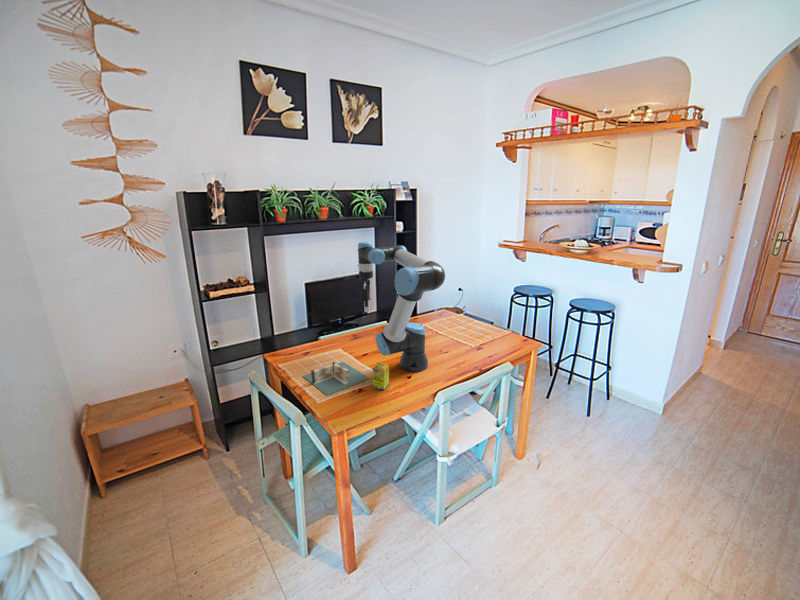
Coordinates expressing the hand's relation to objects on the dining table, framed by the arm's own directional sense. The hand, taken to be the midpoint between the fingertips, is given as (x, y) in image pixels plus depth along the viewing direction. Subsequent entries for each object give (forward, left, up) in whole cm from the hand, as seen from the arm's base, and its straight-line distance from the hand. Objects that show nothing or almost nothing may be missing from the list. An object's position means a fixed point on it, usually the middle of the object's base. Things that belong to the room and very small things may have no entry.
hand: (367, 311), depth 210 cm
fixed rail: (-12, +36, -24) cm, 45 cm away
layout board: (-14, +31, -24) cm, 42 cm away
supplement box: (-36, +19, -25) cm, 48 cm away
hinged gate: (-17, +29, -24) cm, 41 cm away
